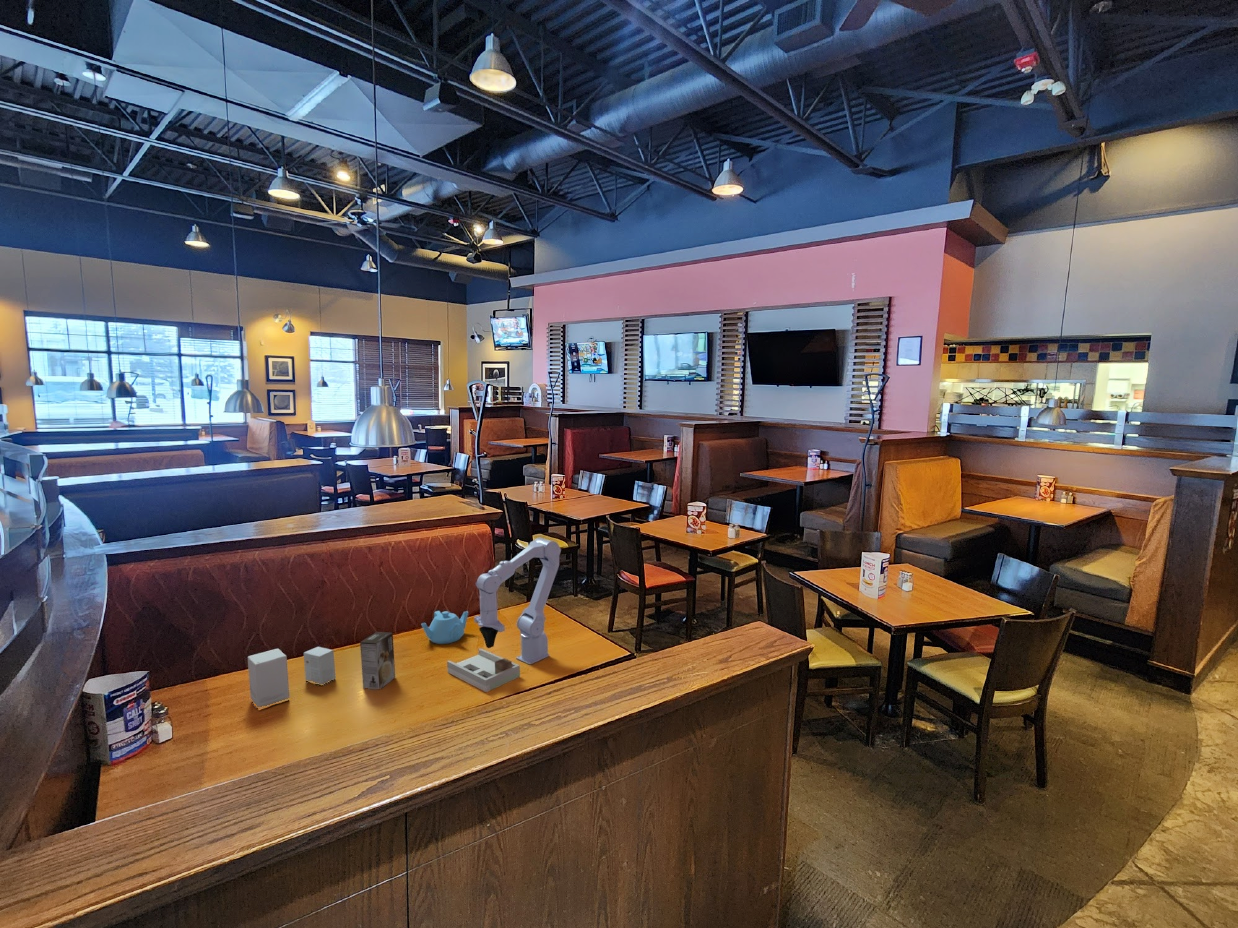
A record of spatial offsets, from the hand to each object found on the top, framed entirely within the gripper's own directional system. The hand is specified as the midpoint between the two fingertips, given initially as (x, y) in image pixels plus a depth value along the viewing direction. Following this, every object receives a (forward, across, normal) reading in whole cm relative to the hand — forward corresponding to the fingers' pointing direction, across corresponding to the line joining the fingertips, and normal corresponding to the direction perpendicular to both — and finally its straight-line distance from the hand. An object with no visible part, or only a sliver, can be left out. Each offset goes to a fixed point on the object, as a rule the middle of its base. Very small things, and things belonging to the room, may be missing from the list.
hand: (490, 646), depth 200 cm
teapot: (+9, -38, +7) cm, 40 cm away
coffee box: (+9, -22, -29) cm, 38 cm away
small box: (+9, -40, -41) cm, 58 cm away
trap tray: (+9, 0, -3) cm, 10 cm away
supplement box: (+9, -38, -57) cm, 69 cm away
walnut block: (+7, +7, 0) cm, 10 cm away
